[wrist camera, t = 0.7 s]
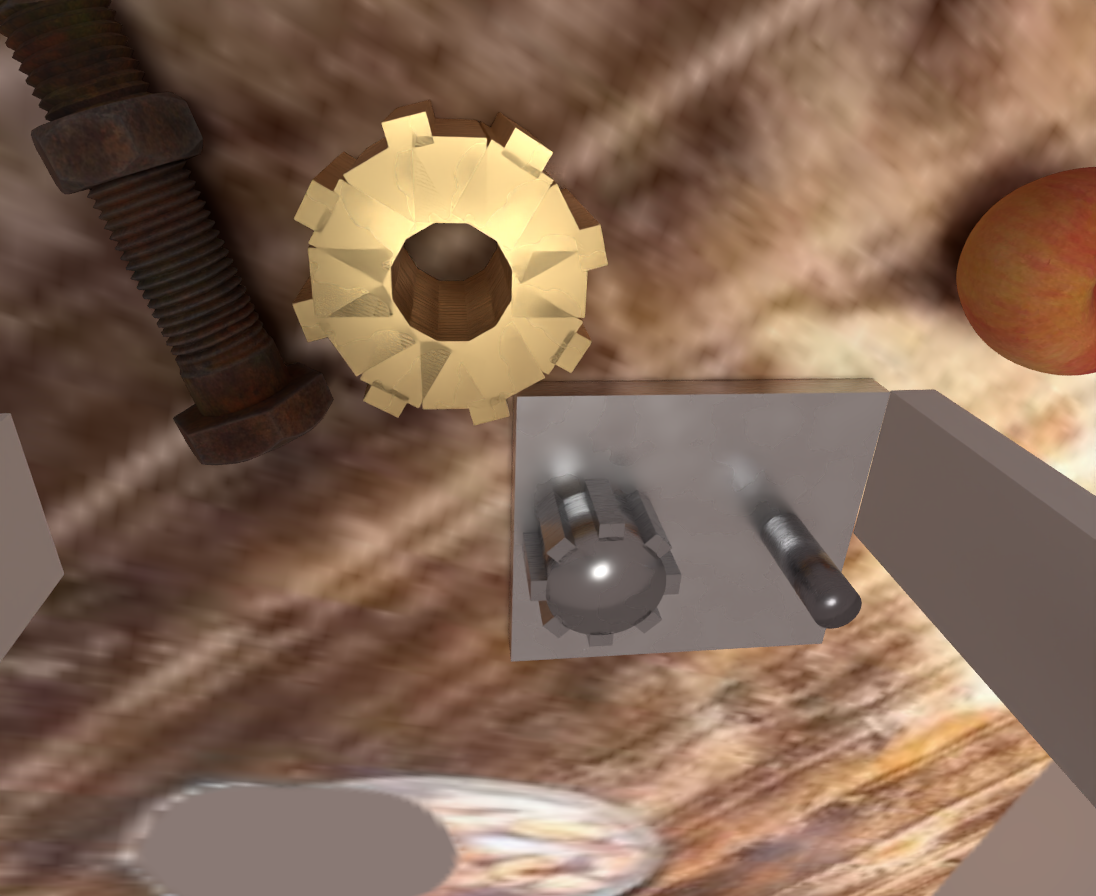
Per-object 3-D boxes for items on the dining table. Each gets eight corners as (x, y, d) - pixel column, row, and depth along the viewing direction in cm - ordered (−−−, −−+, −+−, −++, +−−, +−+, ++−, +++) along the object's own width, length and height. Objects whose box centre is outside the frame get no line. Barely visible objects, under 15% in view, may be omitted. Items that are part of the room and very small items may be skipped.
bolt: (116, -10, 25) (302, 389, 31) (-53, 23, 23) (185, 444, 29) (141, -65, 20) (352, 416, 27) (-68, -30, 18) (217, 483, 25)
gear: (336, 351, 29) (307, 428, 23) (311, 94, 25) (268, 106, 19) (565, 350, 31) (595, 423, 24) (578, 104, 26) (619, 118, 20)
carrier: (508, 640, 37) (521, 754, 31) (513, 382, 31) (531, 462, 25) (809, 623, 39) (876, 728, 33) (872, 378, 33) (970, 451, 27)
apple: (882, 300, 31) (1009, 369, 24) (985, 124, 28) (1163, 145, 21) (1012, 354, 33) (1165, 432, 26) (1121, 194, 30) (1325, 234, 23)
